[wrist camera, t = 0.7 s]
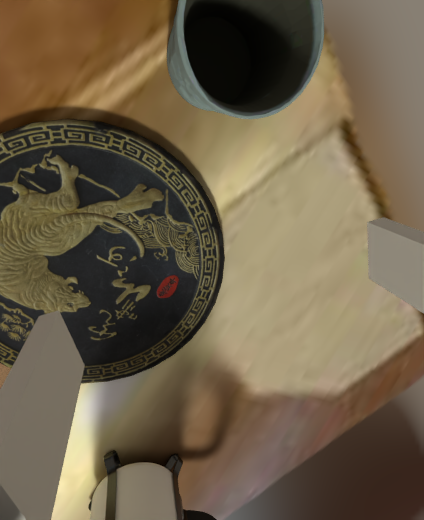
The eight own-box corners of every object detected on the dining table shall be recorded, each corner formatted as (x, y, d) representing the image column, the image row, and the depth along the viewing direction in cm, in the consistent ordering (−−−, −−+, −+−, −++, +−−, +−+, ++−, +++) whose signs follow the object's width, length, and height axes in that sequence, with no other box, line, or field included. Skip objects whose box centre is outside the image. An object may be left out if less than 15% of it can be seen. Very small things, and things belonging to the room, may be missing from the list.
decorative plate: (276, 254, 40) (113, 422, 43) (270, 249, 41) (113, 411, 45) (52, 37, 28) (-149, 293, 31) (56, 42, 30) (-134, 285, 33)
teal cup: (198, -28, 29) (237, -119, 19) (282, 51, 33) (356, 13, 22) (140, 78, 31) (145, 52, 20) (225, 141, 35) (268, 147, 24)
